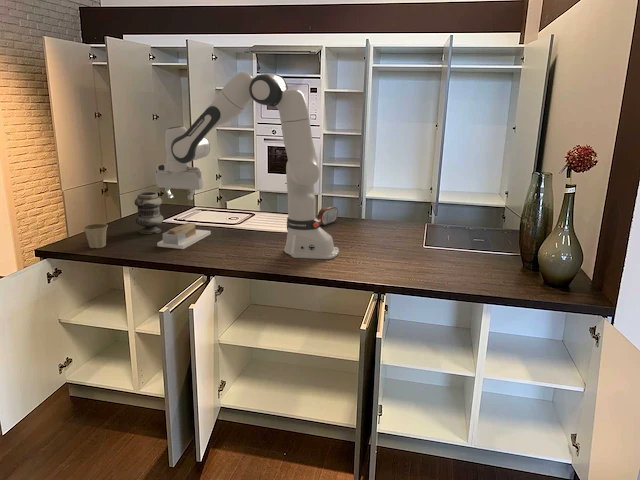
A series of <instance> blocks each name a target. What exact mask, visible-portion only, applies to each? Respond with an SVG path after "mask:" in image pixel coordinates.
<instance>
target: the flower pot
mask: <svg viewBox="0 0 640 480" xmlns="http://www.w3.org/2000/svg"><path fill="white" fill-rule="evenodd" d="M108 227H109V225H108V224H106V223H92V224H87V225H83V227H82V230H84V233H85V237H86V239H87V242H88V246H89V248H90V249H101V248H104V247H106V245H107V229H108Z"/></svg>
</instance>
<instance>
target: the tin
mask: <svg viewBox="0 0 640 480" xmlns="http://www.w3.org/2000/svg"><path fill="white" fill-rule="evenodd" d="M338 214H339V210H338V208H337V207H336V206H333V205H329V206H326V207H325V206H324V207H322V208H321V209H320V210H319V212H318V214H317V217H316V218H317V219H318V220H320V219H321V222H320V225H322V226H326V225H329V224H333V223H334V222H336V221H337V219H338V216H339V215H338Z"/></svg>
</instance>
